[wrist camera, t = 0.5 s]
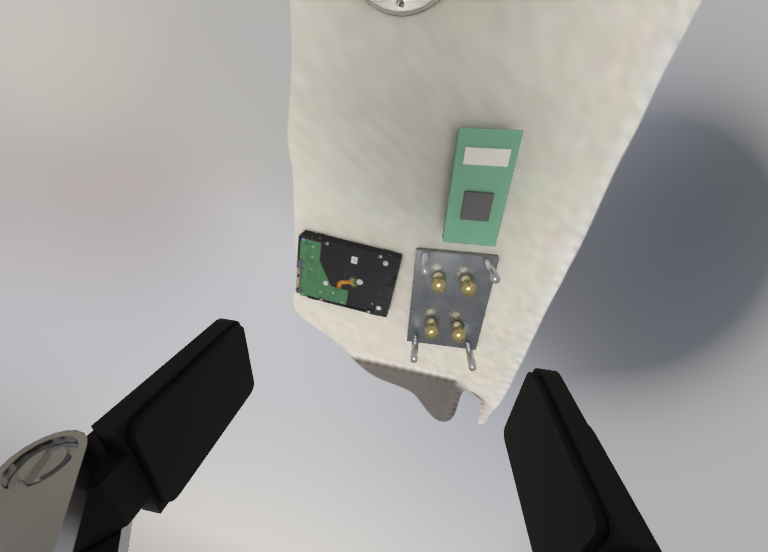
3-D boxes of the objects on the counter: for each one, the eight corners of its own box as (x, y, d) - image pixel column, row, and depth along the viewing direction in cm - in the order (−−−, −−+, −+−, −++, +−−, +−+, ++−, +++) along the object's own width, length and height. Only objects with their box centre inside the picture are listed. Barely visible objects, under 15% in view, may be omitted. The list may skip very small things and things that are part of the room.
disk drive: (403, 250, 40) (304, 228, 41) (401, 258, 38) (296, 234, 38) (389, 308, 45) (301, 287, 46) (387, 318, 43) (294, 296, 43)
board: (458, 127, 29) (460, 127, 27) (517, 130, 29) (525, 130, 26) (442, 236, 35) (443, 243, 32) (491, 240, 34) (496, 248, 32)
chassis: (416, 247, 39) (414, 265, 34) (497, 255, 38) (508, 274, 33) (407, 336, 46) (404, 362, 41) (474, 345, 45) (480, 373, 40)
